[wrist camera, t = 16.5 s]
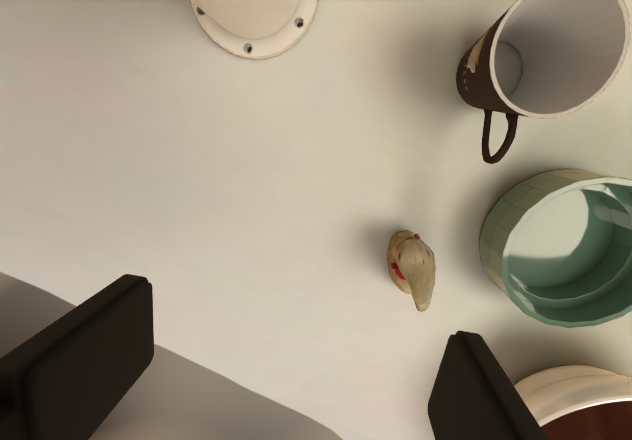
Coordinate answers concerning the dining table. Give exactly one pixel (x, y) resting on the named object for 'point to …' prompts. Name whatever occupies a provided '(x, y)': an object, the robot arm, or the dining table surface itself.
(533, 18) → the coffee mug
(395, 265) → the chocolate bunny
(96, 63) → the dining table surface
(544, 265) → the bowl
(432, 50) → the dining table surface
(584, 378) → the cream round dish
